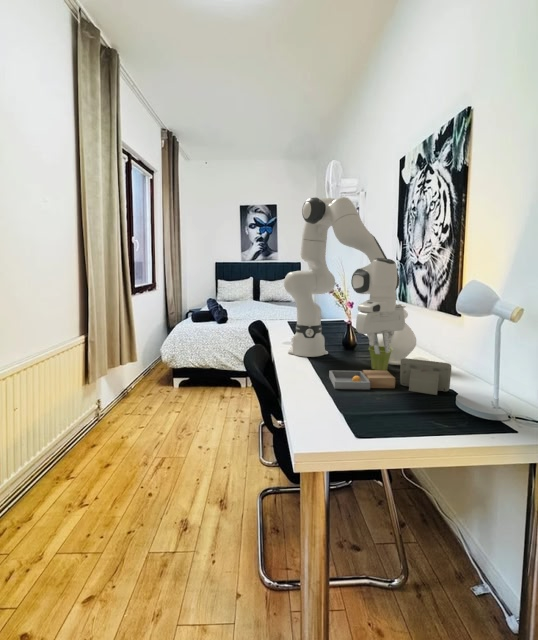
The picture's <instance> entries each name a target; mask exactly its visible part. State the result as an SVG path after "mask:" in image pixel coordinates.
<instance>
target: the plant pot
mask: <svg viewBox="0 0 538 640" xmlns="http://www.w3.org/2000/svg"><path fill="white" fill-rule="evenodd" d="M367 349H368V351H369V354H370V367H371V368H370V369H371V370H387V371H388V366H389V364H388V362H389V358H390V354H391V352H389V353H386V351H385V347H384V346H379V349H380V354H375V349H374V346H371V345H370V346H369V347H368V348H367ZM392 350H393V349H392V348H390V351H392Z"/></svg>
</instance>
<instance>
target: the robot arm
mask: <svg viewBox="0 0 538 640" xmlns="http://www.w3.org/2000/svg"><path fill="white" fill-rule="evenodd" d="M301 213H302V218H303V220H304V221H305V222H304V225H303V231H302V235H301V244H300V245H301V247H300V256H301V259H302V260H304V262H306V263H307V264H308V265H307V266H308V270H296V271H290V272H288V273H287V274H286V275H285V278H284V280H283V286H284V290H285V291H286V292H287V293H288V294H289V295H290V296H291V298H292V299H293V300H294V303H295V305H296V306H295V307H296V324H295V331H296V332H295V334H293V336H292V337H291V339H290V340H291V341H290V342H291V347H290V349H288V351H287V353H288V354H290V355H294V356H298V357H306V358H307V357H308V358H309V357H311V358H315V357H321V356H324V355H328V354H329V351H327V349H325V336H324V335H323V334H322V330H323V328H322V324H321V321H322V309H321V306H320V305H319V304H318V303H316V302H315V301H314V299H313V295H325V294H327V293H328V294H329V293H331V292H333V290H334V288H335V286H336V279H335V276H334V274H333V273H332V272H331V271H330V270H329V267H328V266H327V260H326V259H327V258H326V251H327V240H328V230H329V228H331V227H332V230H333V232H334V236H335V238H336V239H337V241H338V242H339V243H340V244H341V245H343V246H346V247H349V248H352V249H355V250H358V251H360V252H362V253H363V254H364V255H366V256H367V258H368V260H369V262H370V263H369V264H368V265H365V266H363V267H361V268H357V269H355V271H354V272H353V274H352V275H351V279H350V280H351V281H350V283H351V287H352V289H353V291H354V292H355V293H357V294H360V295H369V299H368V300H366V301H363V302H361V303H359V304H358V305H357V311H359V312H357V315H356V320H355V321H356V322H355V330H356V332H357V333H358V334H362V335H366V336H367V338H368V343H369V346H370V347H371V346H374V345H376V340H374V338H373V336H374V333H379V332H382V331H386V330H387V331H388V332H387V333H388V339H389V344H391V339H392V337H393V335H394V331H399V330H403V329H404V327H405V323H406V319H405V315H404V310H405V308H403V307H402V306H401V305H396V304H397V294H396V291H397V290H398V288H399V285H400V280H401V279H400V276H399V273H398V267H397V262H396V260H393V259H390V258H387V256H386V254H385V252H384V250H383V249H382V246H381V245H380V243H379V241H378V240H377V238H376V237H375V236H374V235H373V234H372V233H371V231H369V230H368V228H367V227H366V226H365V224H364V223H363V221H362V219H361V217H360V214H359V212H358V210H357V208H356V206H355V204H354V203H353V201H352V200H351V199H350V198H348V197H345V196H340V197H337V198H331V197H316V196H315V197H310V198H307V199H306V200H305V201H304V203H303V205H302V209H301Z"/></svg>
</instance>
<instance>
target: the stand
mask: <svg viewBox="0 0 538 640" xmlns="http://www.w3.org/2000/svg"><path fill="white" fill-rule="evenodd" d="M362 373H363V374H364V375H365V376H366V378H367V379H368V380H369V381H370V389H395V387H396V377H395V376H393V374H391V373H390V371H388V369H387V370H375V369H362Z"/></svg>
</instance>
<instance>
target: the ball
mask: <svg viewBox="0 0 538 640" xmlns="http://www.w3.org/2000/svg"><path fill="white" fill-rule="evenodd" d="M352 381H353V382H361V378H360V377H359V376H354V377H353V378H352Z"/></svg>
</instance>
